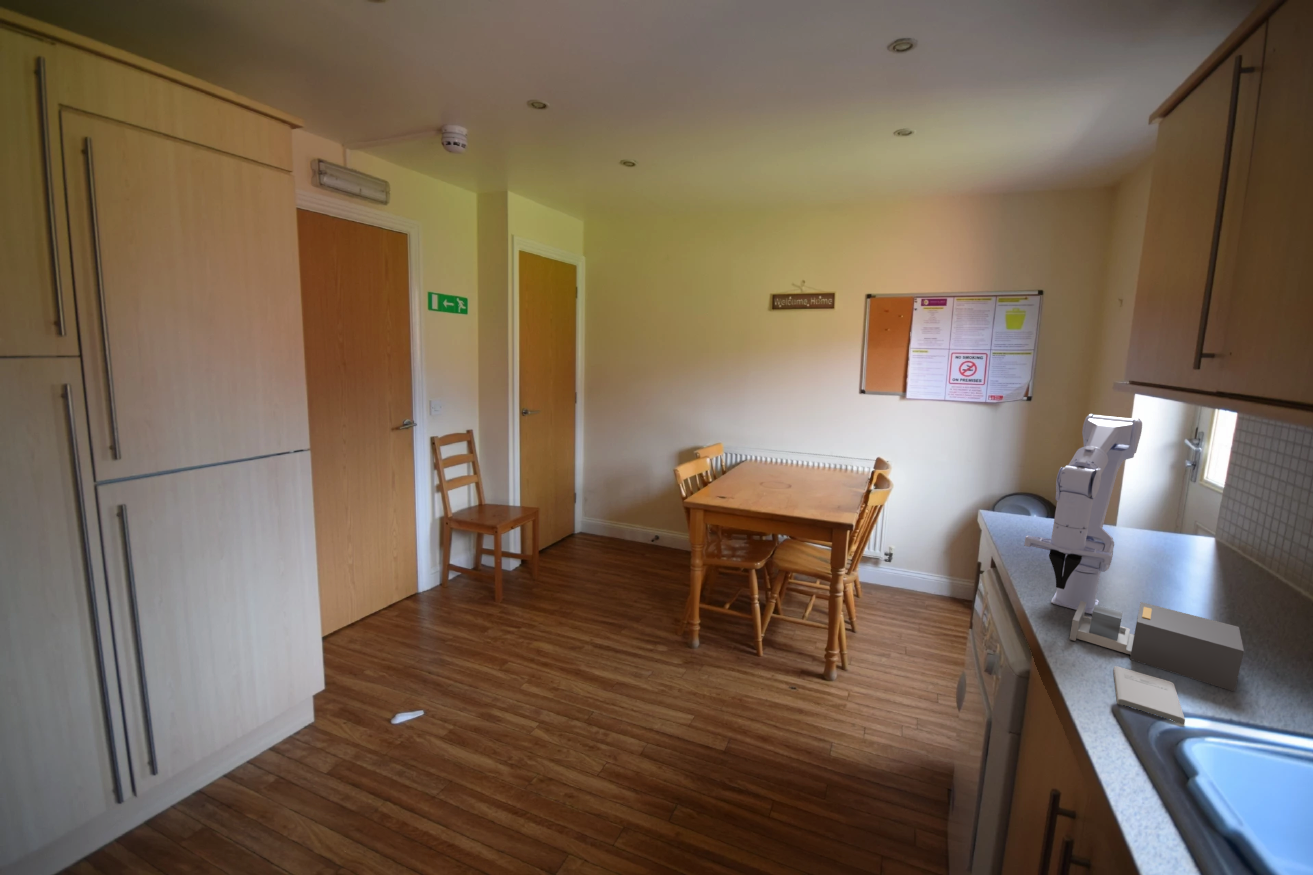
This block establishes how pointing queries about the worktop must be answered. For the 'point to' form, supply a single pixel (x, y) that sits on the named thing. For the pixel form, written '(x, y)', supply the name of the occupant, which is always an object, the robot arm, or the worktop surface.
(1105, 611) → the block
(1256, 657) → the worktop surface
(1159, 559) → the worktop surface
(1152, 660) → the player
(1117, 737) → the worktop surface
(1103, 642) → the tray
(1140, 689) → the external hard drive
